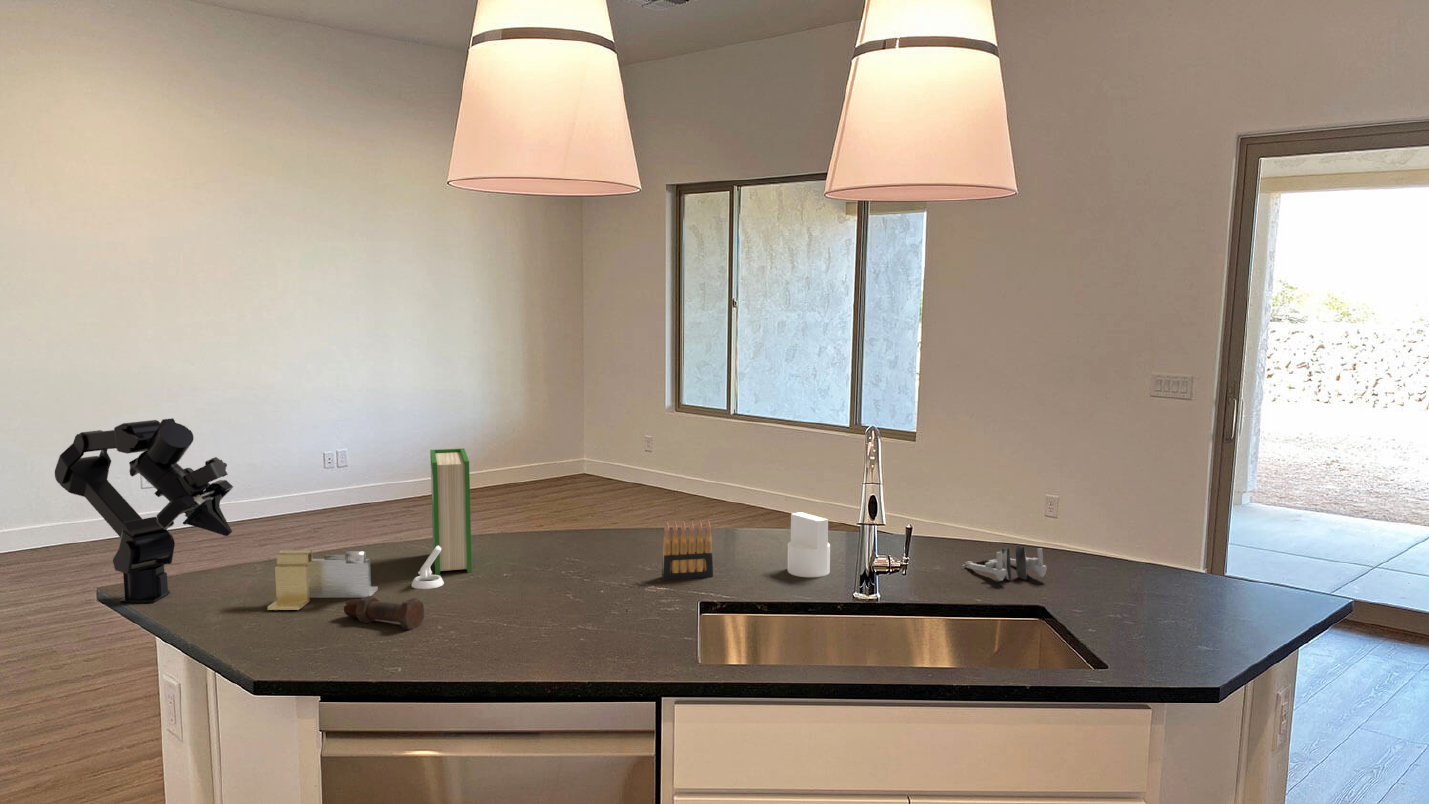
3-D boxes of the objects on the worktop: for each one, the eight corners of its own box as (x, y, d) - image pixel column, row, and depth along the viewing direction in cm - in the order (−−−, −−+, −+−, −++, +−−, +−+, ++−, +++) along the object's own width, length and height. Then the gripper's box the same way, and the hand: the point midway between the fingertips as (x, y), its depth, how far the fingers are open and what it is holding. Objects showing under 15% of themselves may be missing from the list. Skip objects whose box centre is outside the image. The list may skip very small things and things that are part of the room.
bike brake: (1055, 579, 203) (1005, 568, 223) (1053, 546, 203) (1004, 538, 223) (995, 585, 200) (950, 573, 220) (993, 551, 200) (948, 542, 220)
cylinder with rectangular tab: (778, 569, 212) (779, 515, 211) (809, 563, 218) (810, 510, 216) (807, 579, 205) (807, 523, 204) (838, 572, 211) (839, 517, 209)
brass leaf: (267, 609, 183) (265, 560, 182) (283, 597, 190) (281, 550, 189) (299, 609, 183) (296, 560, 182) (313, 597, 190) (311, 550, 189)
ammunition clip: (663, 579, 205) (663, 523, 203) (661, 577, 207) (661, 521, 205) (713, 576, 207) (713, 520, 206) (711, 574, 209) (711, 518, 208)
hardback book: (471, 572, 209) (469, 461, 207) (435, 575, 207) (432, 462, 204) (466, 551, 226) (464, 448, 223) (433, 553, 224) (430, 449, 221)
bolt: (352, 626, 181) (419, 634, 176) (334, 620, 177) (402, 628, 171) (362, 594, 183) (428, 601, 178) (344, 588, 179) (411, 595, 174)
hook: (457, 568, 197) (432, 554, 195) (431, 605, 199) (406, 591, 197) (462, 554, 203) (437, 540, 201) (436, 589, 205) (412, 576, 203)
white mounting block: (300, 602, 188) (298, 553, 187) (317, 589, 197) (315, 541, 196) (363, 602, 188) (361, 553, 187) (377, 589, 197) (376, 541, 196)
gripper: (170, 454, 175) (235, 515, 176) (220, 439, 193) (279, 494, 195) (127, 498, 175) (193, 558, 177) (181, 478, 194) (241, 533, 195)
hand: (229, 534), depth 186 cm, fingers closed
